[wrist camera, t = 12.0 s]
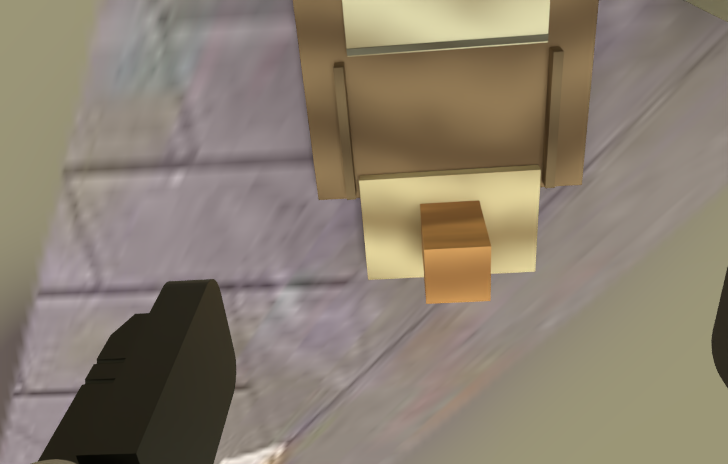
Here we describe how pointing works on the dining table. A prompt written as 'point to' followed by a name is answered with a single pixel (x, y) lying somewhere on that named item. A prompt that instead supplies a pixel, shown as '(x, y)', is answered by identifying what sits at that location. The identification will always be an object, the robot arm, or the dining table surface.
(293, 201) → the dining table surface
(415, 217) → the wooden block on base
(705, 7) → the folded green panel
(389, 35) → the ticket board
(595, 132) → the dining table surface
